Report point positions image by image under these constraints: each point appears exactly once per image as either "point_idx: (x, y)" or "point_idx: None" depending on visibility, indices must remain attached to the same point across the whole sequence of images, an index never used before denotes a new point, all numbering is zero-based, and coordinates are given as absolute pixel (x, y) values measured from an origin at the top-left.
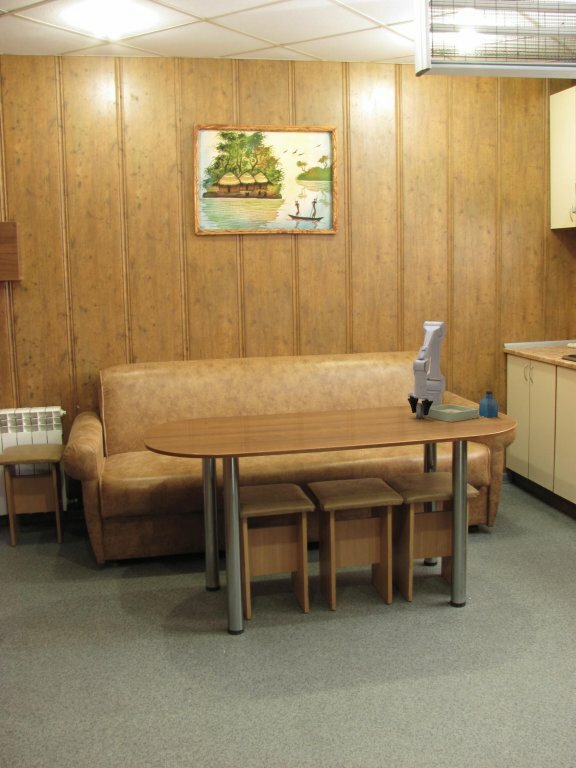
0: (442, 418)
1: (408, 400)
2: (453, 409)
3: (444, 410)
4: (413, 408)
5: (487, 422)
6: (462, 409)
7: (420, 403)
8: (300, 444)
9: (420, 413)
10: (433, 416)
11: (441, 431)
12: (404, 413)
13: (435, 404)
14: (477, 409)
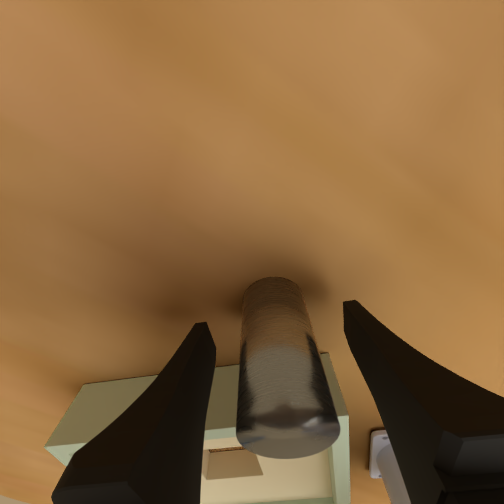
0: (148, 386)
1: (494, 401)
2: (301, 496)
3: (302, 468)
4: (363, 340)
5: (56, 473)
6: None
7: (284, 435)
8: None
9: (243, 323)
10: (229, 376)
11: None
12: (499, 301)
13: (403, 496)
14: None
